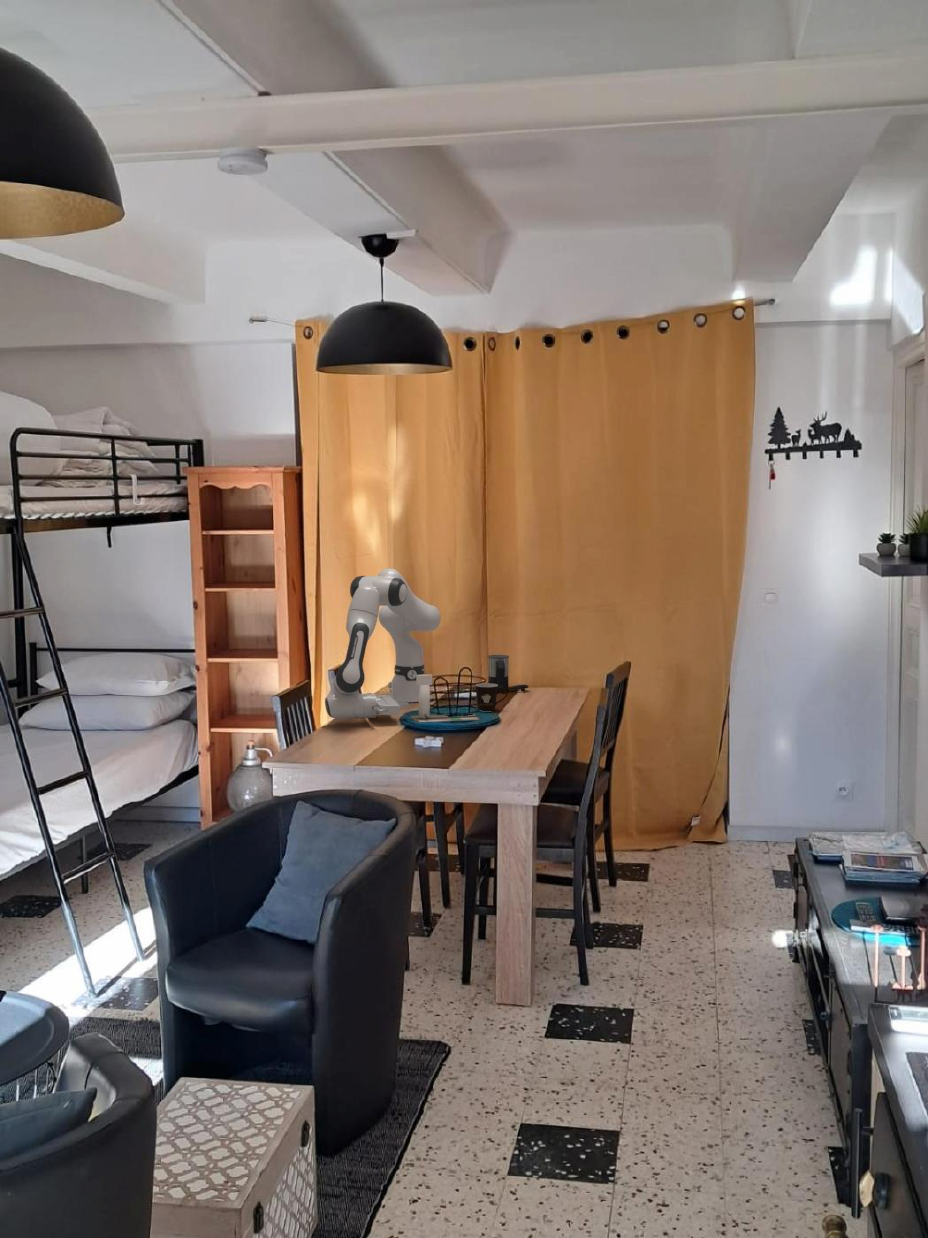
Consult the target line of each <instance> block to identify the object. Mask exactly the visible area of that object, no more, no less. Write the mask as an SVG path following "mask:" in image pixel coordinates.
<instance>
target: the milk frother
mask: <svg viewBox="0 0 928 1238" xmlns="http://www.w3.org/2000/svg"><path fill="white" fill-rule="evenodd" d="M487 657H488V658H487V659H488V660H487V661H488V663H487V664H488V665H487V669H488V670H487V672H488V673H487V675H488V677H487V680H488V681H487V682H488V683H490V684H497V685H498V689H497V690H499V689H502V688H503V689H505V690H507V692H509V691H510V690H513V691H514V690H515V691H516V690H520V691H522V692H523V691H526V689H528V688H529V684H516V685H513V686H511V687H509V663H510V662H509V660H510V659H509V657H510V655H508V654H490V655H489V654H488V655H487ZM499 692H500V693H503V692H505V691H504V690H500V691H499ZM499 692H498V693H499Z"/></svg>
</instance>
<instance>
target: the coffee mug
mask: <svg viewBox="0 0 928 1238" xmlns="http://www.w3.org/2000/svg"><path fill="white" fill-rule="evenodd" d="M497 689H498V685H497V684H490V683H487V682H485V683H484V682H482V683H477V684H475V692H476V702H477V710H478V709H479V710H482V711H492V712H491V713H494V712H495V711H496V705H498V704H499V703H501V702H502V701H504V700H505V699H506V698H507V696H508V691H507V690H505V689H503V688H502V689H499V690H497ZM500 690H504V692H505V696H504V697H503V698H501V699H500V700H498V701H497V698H498V697H497V696H498V694H499V691H500Z"/></svg>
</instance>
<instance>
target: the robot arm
mask: <svg viewBox="0 0 928 1238" xmlns="http://www.w3.org/2000/svg"><path fill="white" fill-rule="evenodd" d="M349 595H350V597H351V601H350V604H349V607H348V611H347V614H346V615H347V616H346V623H345V624H346V625H345V626H346V627H345V628H346V629H345V630H346V632H347V633H348V637H349V640H348V646H347V650H346V654H345V655H346V656H345V659H344V661H343V663H342V665H341V666H340V667H339V668H338V670H337V671H336V674H335V676H334V678H333V681H332V685H331V687H330V690H329V691H328V694H327V695H326V697H325V698H324V706H325V710H326V713H327V715H328V717H330V718H332V719H337V720H338V719H339V720H350V719H354V718H358V719H359V718H360V719H375V718H376V717H377V715H380V716H381V715H383V716H399V715H400V714H401V709H404V708H405V709H406V708H408V709H409V707H410V703H417V702H418V703H419V685H416V675H425V665H424V647H423V645H422V643H421V642H420V641H418V640H417V639H415V638H414V637H413V635H412V633H411V632H430V631H435V630H436V629H438V627H440V626H439V625H440V624H441V619H442V618H441V617H442V616H441V613H440V611H439V608H438V607H437V606H434V605H432V604H429V603H428V602H425V601H424V600H422V599H421V598H420V597H418V596H417V595H416V594H414V592H413V591H412V590H411V588H410V586H409V584H408V583H407V581H406V579H405V578H404V577H403V575H402V574H401V573H400V572H399V571H398V570H396V569H394V568H384V569H383V570H381V571H380V572H379V573H378V575H377V576H376V575H369V576H368V575H359V576H356V577H354V579H352V581H351V583H350V587H349ZM381 606H382V607H381ZM380 607H381V608H380ZM377 621H379V623H380V625H381V627H383V628H384V629H385V630H386V631H387V632H388V633H389V635H390V637H391V638H392V641H393V644H394V648H395V649H394V650H395V665H394V676H393V678H392V679H391V681H390V682H388V689H389V691H388V692H387V694H376V693H374V692H373V693H372V692H367V693H360V689H361V688H362V687H363V686H364V683H365V679H366V677H365V671H364V667H363V665H364V664H363V663H364V658H365V654H366V651H367V650H366V649H367V644H368V641H369V640H370V638H371V637H372V635H373V633H374V631H375V628H376V625H377ZM432 699H433V695H431V694H430V700H432Z"/></svg>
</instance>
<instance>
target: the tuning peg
mask: <svg viewBox="0 0 928 1238" xmlns="http://www.w3.org/2000/svg"><path fill="white" fill-rule="evenodd" d="M416 685H419V702H418V716H419V718H430V715H431V713H430V711H431V710H430V709H431V707H430V706H431V701H430V700H431V699H430V695H431V692H430V691H431V690H430V689H431V688H430V687H431V686H433V674H424V675H416Z"/></svg>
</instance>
